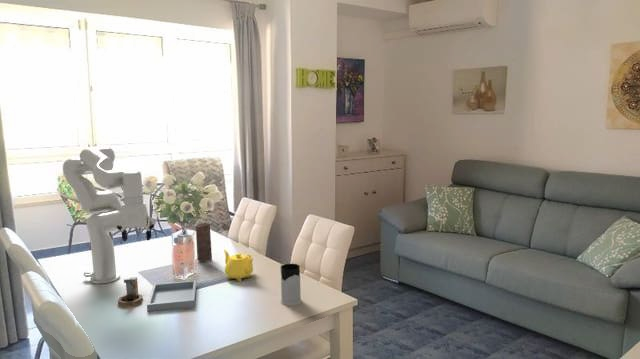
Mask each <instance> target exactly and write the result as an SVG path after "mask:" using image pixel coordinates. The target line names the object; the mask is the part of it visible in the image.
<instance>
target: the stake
mask: <svg viewBox="0 0 640 359" xmlns="http://www.w3.org/2000/svg"><path fill="white" fill-rule="evenodd" d="M130 278H131V279H129V278H124V279H123V284H125V287H126V288H125V289H126V295H127V300H126V301H124V302H129V301H134V300H136V299H133V287H132V282H136V278H133V277H130Z"/></svg>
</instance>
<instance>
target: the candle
mask: <svg viewBox="0 0 640 359" xmlns="http://www.w3.org/2000/svg"><path fill="white" fill-rule="evenodd" d="M195 238H196V260H197V261H198V262H208V261H212V260H213V253H212V252H213V251H212V239H211V238H212V237H211V224H210V222H199V223H197V224H196V225H195Z"/></svg>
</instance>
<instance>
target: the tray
mask: <svg viewBox="0 0 640 359" xmlns="http://www.w3.org/2000/svg"><path fill="white" fill-rule="evenodd" d="M196 295H197V280H196V279H195V280H186V281H185V280H183V281H176V282H175V281H174V282H163V283H162V282H161V283H154V284H153V286H152V288H151V290H150V295H149V298H148V300H147V303H146V310H147V313H150V312H151V313H152V312H162V311H172V310H180V309H191V308H192V309H193V308H195V307H196V306H195V305H196V297H197V296H196Z"/></svg>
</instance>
